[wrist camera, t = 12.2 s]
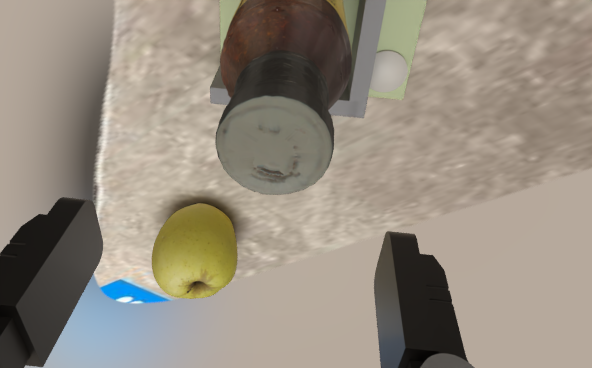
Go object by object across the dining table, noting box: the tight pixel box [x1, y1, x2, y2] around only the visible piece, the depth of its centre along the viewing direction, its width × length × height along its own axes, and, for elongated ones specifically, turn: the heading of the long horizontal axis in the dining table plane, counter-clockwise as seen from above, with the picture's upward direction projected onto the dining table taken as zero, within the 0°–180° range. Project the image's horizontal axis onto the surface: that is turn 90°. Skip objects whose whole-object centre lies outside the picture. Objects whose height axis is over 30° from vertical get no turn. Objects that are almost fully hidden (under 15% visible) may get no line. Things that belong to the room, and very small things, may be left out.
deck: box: [210, 0, 427, 118], centre depth 31 cm, size 14×14×5 cm
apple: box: [152, 203, 237, 299], centre depth 43 cm, size 8×8×10 cm
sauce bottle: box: [216, 0, 352, 195], centre depth 24 cm, size 7×6×20 cm
